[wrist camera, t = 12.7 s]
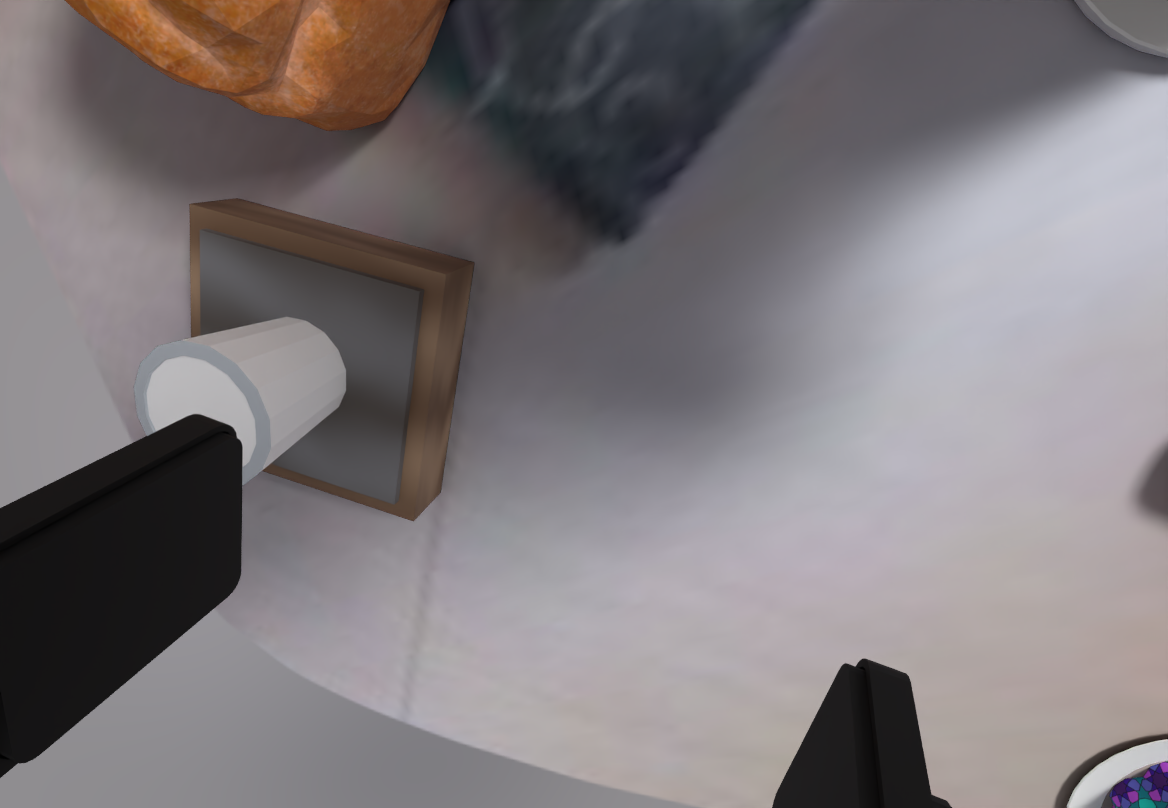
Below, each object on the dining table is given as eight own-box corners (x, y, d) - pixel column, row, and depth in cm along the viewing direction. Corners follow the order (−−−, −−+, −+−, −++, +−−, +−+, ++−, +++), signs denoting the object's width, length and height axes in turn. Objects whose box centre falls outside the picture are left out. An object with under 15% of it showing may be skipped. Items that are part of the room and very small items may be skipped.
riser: (237, 198, 39) (181, 204, 35) (474, 262, 37) (441, 276, 33) (234, 425, 44) (186, 450, 41) (440, 492, 42) (409, 525, 39)
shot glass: (256, 429, 39) (155, 486, 33) (226, 305, 37) (112, 341, 30) (368, 433, 37) (284, 494, 31) (344, 303, 35) (248, 340, 29)
